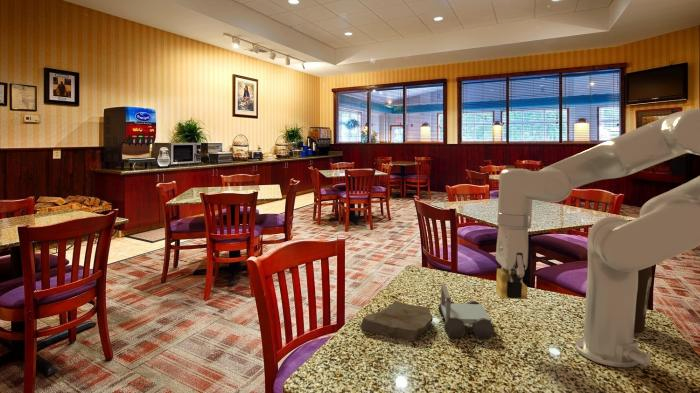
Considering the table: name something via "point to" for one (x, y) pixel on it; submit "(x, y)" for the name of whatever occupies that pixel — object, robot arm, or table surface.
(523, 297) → the orange block
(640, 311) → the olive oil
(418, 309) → the marble piece
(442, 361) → the table surface
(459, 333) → the trolley
